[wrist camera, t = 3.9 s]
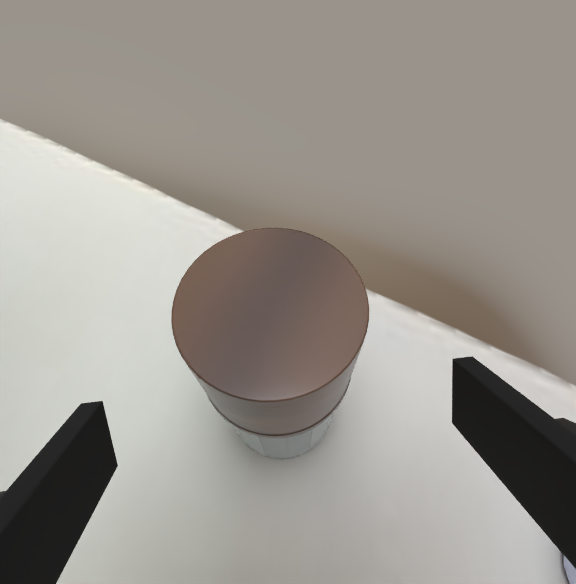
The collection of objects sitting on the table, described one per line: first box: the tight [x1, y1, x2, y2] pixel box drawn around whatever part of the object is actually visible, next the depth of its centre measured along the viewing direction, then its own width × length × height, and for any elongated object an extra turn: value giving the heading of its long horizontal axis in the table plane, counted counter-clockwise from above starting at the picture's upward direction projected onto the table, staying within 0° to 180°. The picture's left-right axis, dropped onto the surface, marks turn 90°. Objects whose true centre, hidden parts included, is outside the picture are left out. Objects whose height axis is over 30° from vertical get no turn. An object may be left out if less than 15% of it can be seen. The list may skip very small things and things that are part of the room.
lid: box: [172, 228, 369, 438], centre depth 21 cm, size 9×9×9 cm
